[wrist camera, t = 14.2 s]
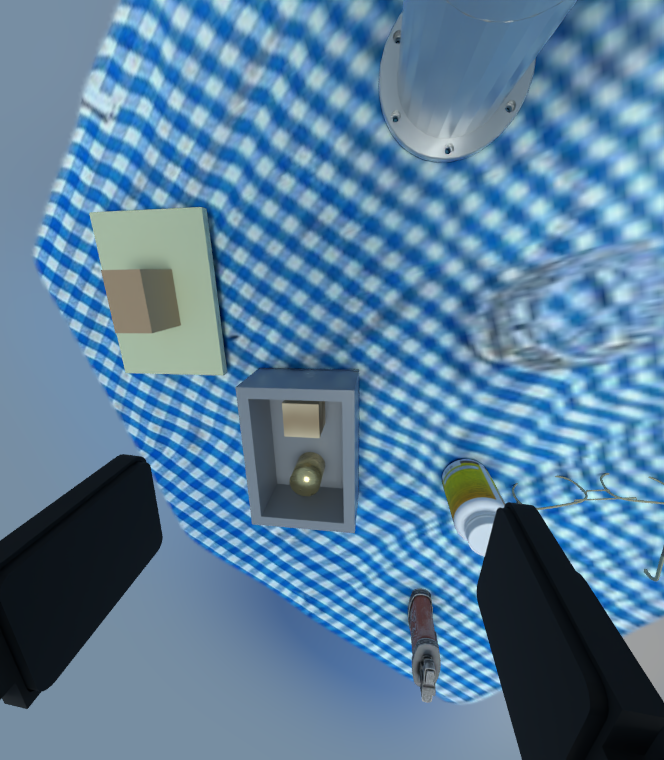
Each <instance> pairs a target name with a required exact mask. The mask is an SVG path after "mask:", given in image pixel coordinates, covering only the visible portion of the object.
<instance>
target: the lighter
mask: <svg viewBox="0 0 664 760" xmlns="http://www.w3.org/2000/svg"><path fill="white" fill-rule="evenodd" d="M432 612H433V608H432V601H431V595H430V593H429V592H428V591H427V590H425V589H415V590H414V591H413V592H412V594H411V597H410V599H409V605H408V622H409V627H410V631H411V642H412V654H413V656H412V673H413V679H414V682H415V684H416V685H417V686H419V687H420V689H421V696H422V701H424V702H431V701H432V695H433V696H435V683H436V681H437V679H438V676H439V672H440V654H439V647H438V642H437V635H436V632H435V631H434V624H433V618H432Z"/></svg>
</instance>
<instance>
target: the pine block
mask: <svg viewBox="0 0 664 760" xmlns="http://www.w3.org/2000/svg"><path fill="white" fill-rule="evenodd" d="M282 411H283V424H284V437H305V438H320V436H321V433H322V431H323V428H324V425H325V401H302V400H284V401H283V403H282Z"/></svg>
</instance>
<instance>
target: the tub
mask: <svg viewBox="0 0 664 760" xmlns="http://www.w3.org/2000/svg"><path fill="white" fill-rule="evenodd" d="M236 395H237V403H238V411H239V420H240V428H241V436H242V444H243V453H244V461H245V469H246V477H247V485H248V494H249V502H250V510H251V518H252V524H256V525H267V526H279V527H290V528H301V529H313V530H324V531H336V532H347V533H355V525H356V515H357V505H358V495H359V370H344V369H289V368H259V369H258V370H256V371H255V372H254V373H253V374H252V375H250V376H249V377H248V378H247V379H245V380H244V381H243V382H242V383H240V384H239V385H238V386H237V387H236ZM284 400H302V401H325V425H324V428H323V431H322V433H321V436H320V438H305V437H284V424H283V411H282V403H283V401H284ZM306 452H314V453H317V454H319V455H320V456H321V457H322V458H323V459H324V462H325V470H324V473H323V477H322V480H321V484H320V488H319V490H318V492H317V493H316V494H314V495H312V496H301V495H299V494H297V493H295V492H294V491H293V490H292V488H291V486H290V477H291V475H292V473H293V470H294V468H295V466H296V463H297V461H298V459H299V457H300V456H301V455H302V454H304V453H306Z"/></svg>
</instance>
